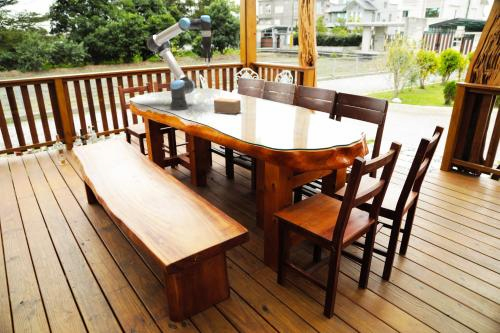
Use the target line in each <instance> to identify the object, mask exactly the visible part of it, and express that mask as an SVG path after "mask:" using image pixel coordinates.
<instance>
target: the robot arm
mask: <svg viewBox="0 0 500 333" xmlns="http://www.w3.org/2000/svg"><path fill="white" fill-rule="evenodd" d="M211 28H212V27H211V17H210V16H209V15H201V16H200V18H189V17H183V18H180V20H179V21H178V22H176V23H175V24H172V25H171V26H170V27H168V28H166V29H164V30H163V31H161V32H160V33H158V34H154V35H152V36H150V37H149V38H148V39H147V40H146V46H147V48H148V50H150V51H151V52H154V53H155V52H157V54H158V55H159V57H162V58H163V61H164V63H165V64H166V65H167V67H168V69H169V70H170V72H171V73H172V75H173V77H174V78H175V80H172V81H171V82H170V83H169V84H170V85H169V87H170V95H171V102H170V105H169V106H170V110H173V111H181V110H182V111H183V110H187V109H189V104H188V101H187V100H186V95H188V94H189V95H190V94H192V93H193V92H194V90H195V86H196V84H195V82H194V81H193V80H192V79H190V78H189V77H188V75H185V73H184V71H183V70H182V68H181V67H180V64H179V63H178V62H177V60H176V58H175V56H174V55H173V53H172V51H171V50H172V49H171V43H170V42H171V41H170V40H171V39H173V38H175V37H176V36H178V35H179V34H182V33H183V32H185V31H186V30H189V29H191V30H197V29H198V30H199V29H200V30H201V42H202V43H201V45H199V48H200V50H201V51H200V52H201V55H202V58H204V60H205V61H204V62H205V63H206V68H207V67H210V66H211V65H210V63H211V59H212V58H213V55H214V49H215V45H214V44H213V43H212V29H211Z"/></svg>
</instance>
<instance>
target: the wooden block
mask: <svg viewBox="0 0 500 333" xmlns="http://www.w3.org/2000/svg"><path fill="white" fill-rule="evenodd" d="M241 105H242V104H241V99H236V98H235V99H234V98H233V99H232V98H223V97H222V98H221V97H219V98H216V99H214V100H213V111H214V112H215V113H216V112H221V113H220V114H227V113H230V115H236V114H238V113H241V111H242V110H241V109H242V108H241Z"/></svg>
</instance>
